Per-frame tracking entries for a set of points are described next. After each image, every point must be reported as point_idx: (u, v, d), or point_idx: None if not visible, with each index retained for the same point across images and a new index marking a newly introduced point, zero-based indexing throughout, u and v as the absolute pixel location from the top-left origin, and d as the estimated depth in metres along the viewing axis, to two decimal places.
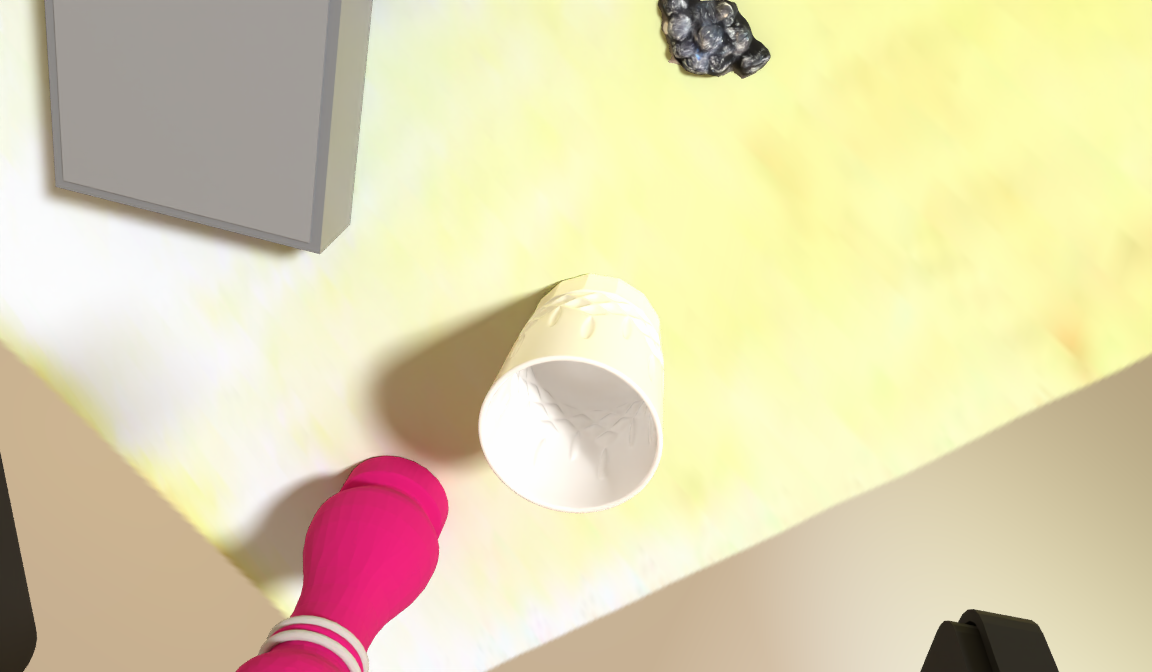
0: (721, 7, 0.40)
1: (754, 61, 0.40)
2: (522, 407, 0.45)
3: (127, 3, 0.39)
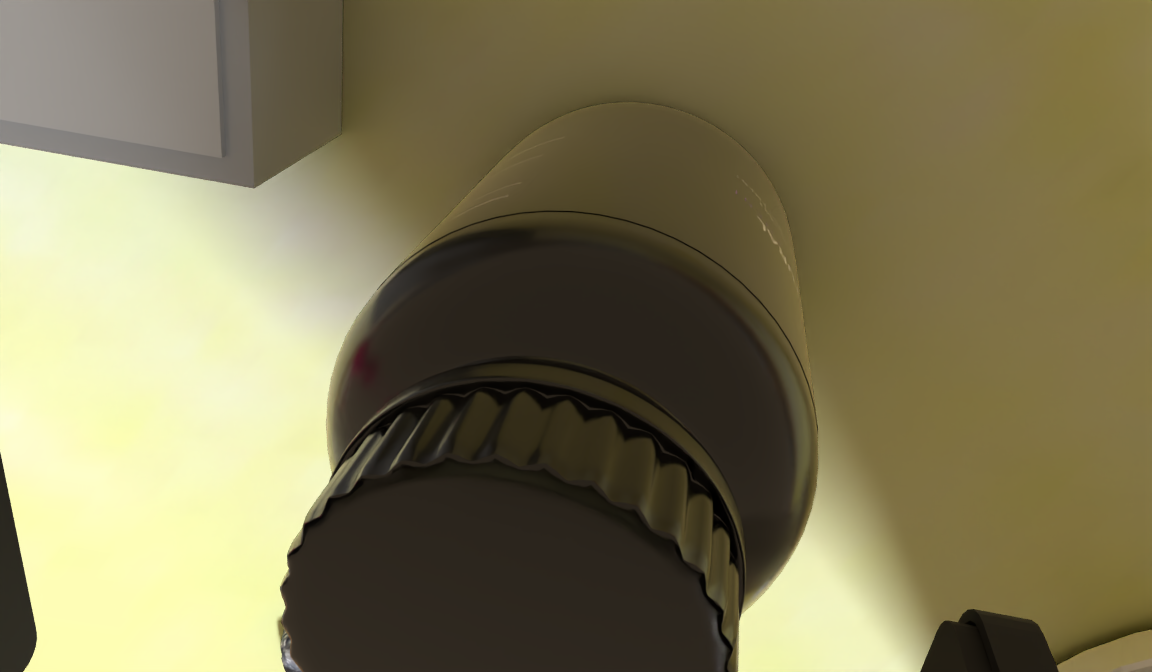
0: None
1: None
2: None
3: None
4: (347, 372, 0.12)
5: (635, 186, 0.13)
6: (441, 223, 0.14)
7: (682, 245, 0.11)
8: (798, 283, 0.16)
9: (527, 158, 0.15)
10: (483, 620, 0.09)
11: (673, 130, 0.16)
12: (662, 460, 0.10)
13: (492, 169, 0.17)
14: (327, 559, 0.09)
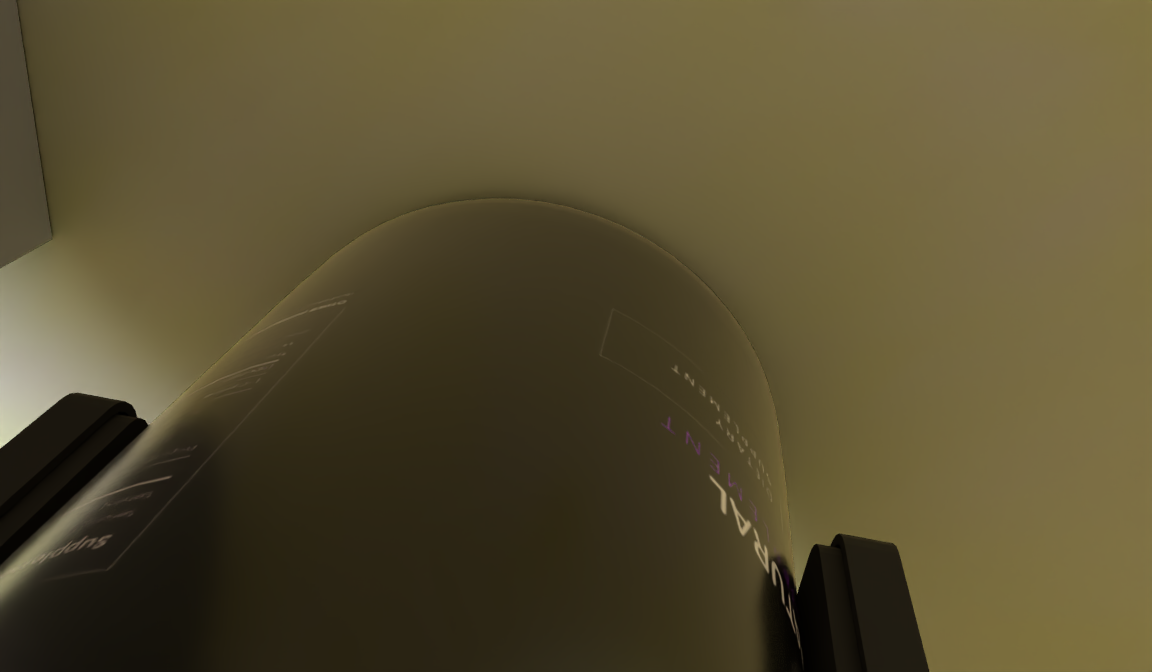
0: None
1: None
2: None
3: None
4: None
5: (414, 504, 0.06)
6: (15, 552, 0.06)
7: None
8: (791, 560, 0.09)
9: (254, 361, 0.08)
10: None
11: (560, 273, 0.09)
12: None
13: (237, 342, 0.09)
14: None
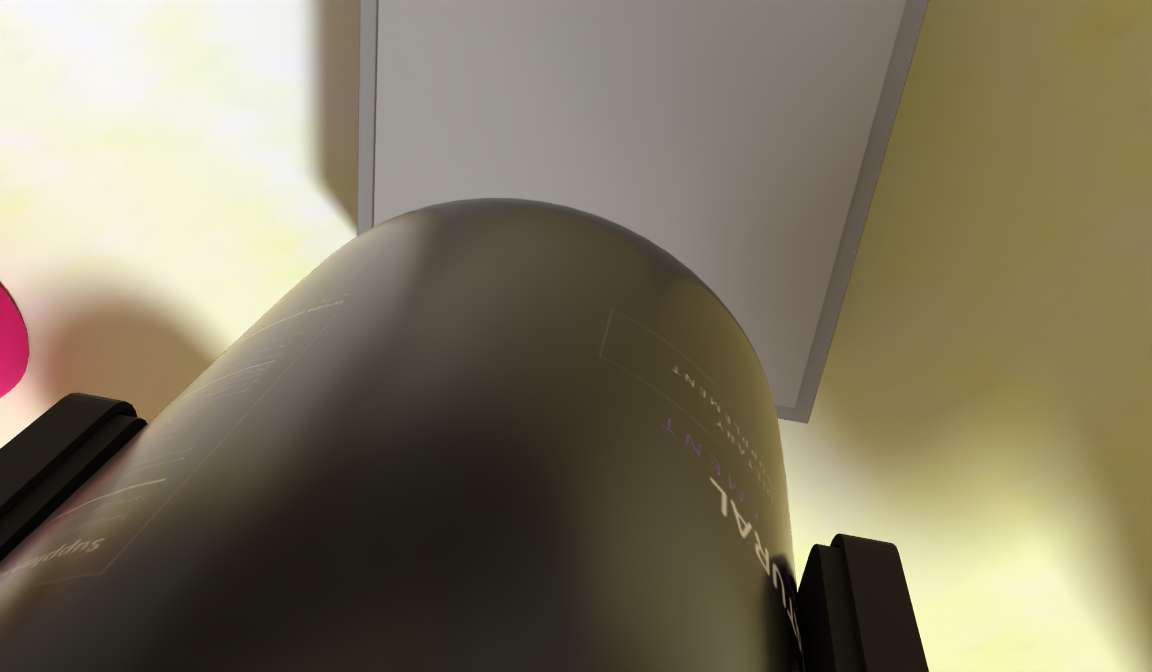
0: None
1: None
2: None
3: (745, 72, 0.22)
4: None
5: (410, 507, 0.05)
6: (8, 555, 0.06)
7: None
8: (792, 562, 0.09)
9: (251, 362, 0.07)
10: None
11: (560, 273, 0.09)
12: None
13: None
14: None
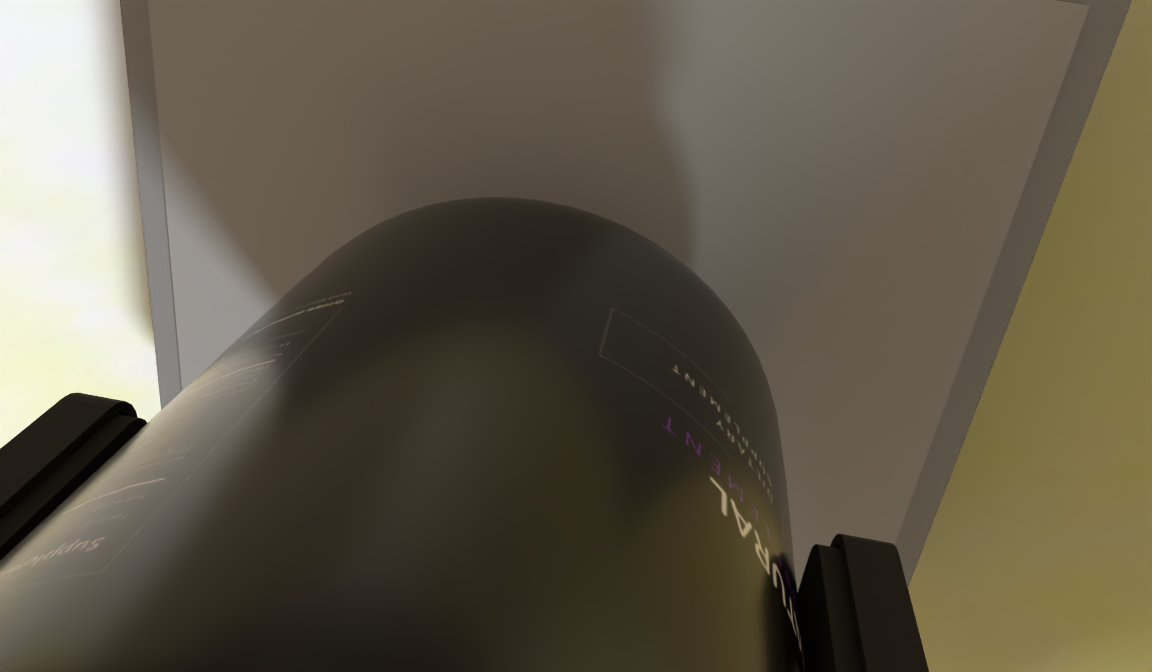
0: None
1: None
2: None
3: (768, 223, 0.13)
4: None
5: (410, 506, 0.05)
6: (8, 554, 0.06)
7: None
8: (791, 562, 0.09)
9: (250, 362, 0.07)
10: None
11: (559, 273, 0.09)
12: None
13: (234, 342, 0.09)
14: None
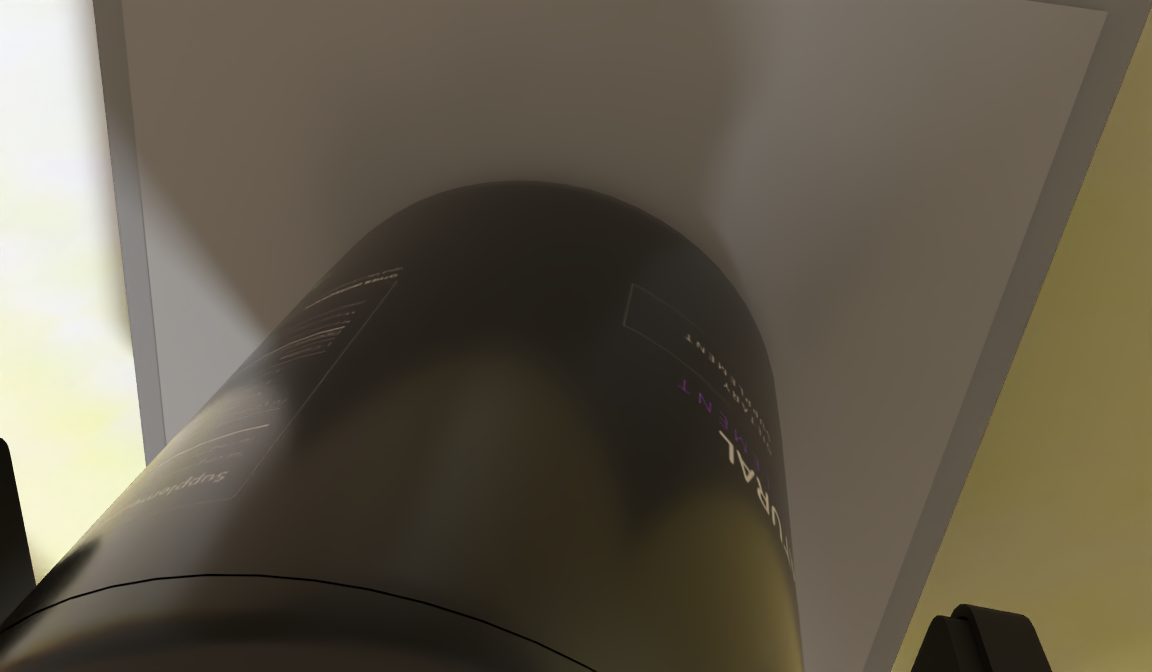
0: None
1: None
2: None
3: (770, 238, 0.12)
4: None
5: (479, 448, 0.07)
6: (131, 488, 0.07)
7: (551, 665, 0.05)
8: (787, 507, 0.10)
9: (322, 328, 0.09)
10: None
11: (585, 252, 0.10)
12: None
13: (294, 310, 0.10)
14: None
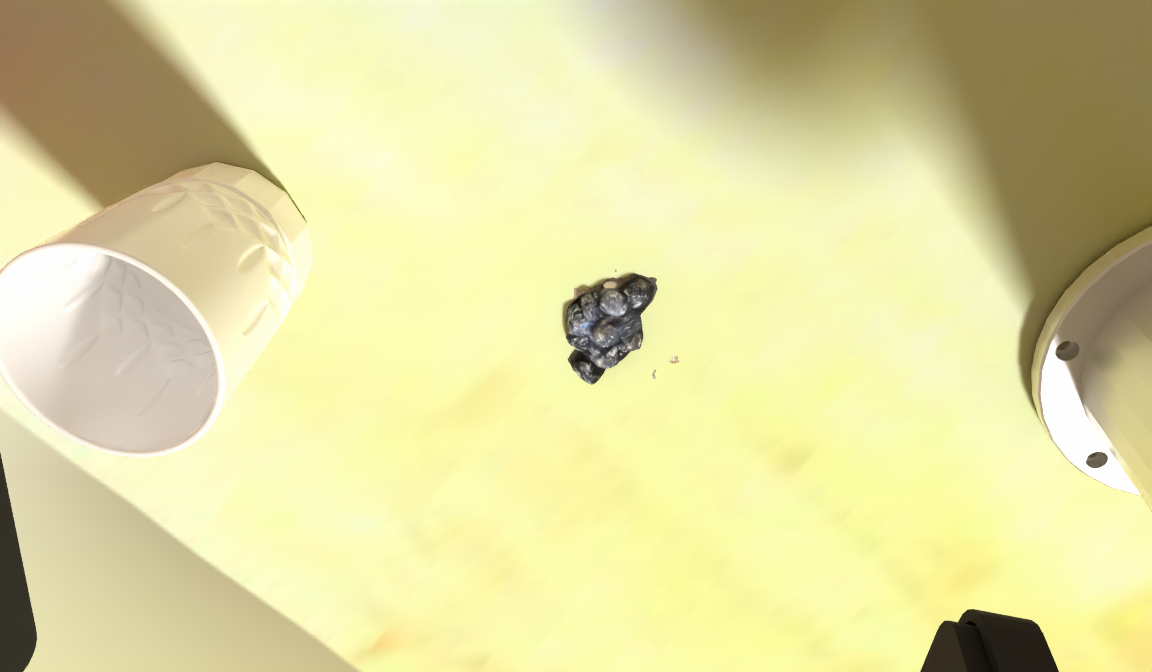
0: (636, 341, 0.38)
1: (586, 375, 0.39)
2: None
3: None
4: None
5: None
6: None
7: None
8: None
9: None
10: None
11: None
12: None
13: None
14: None
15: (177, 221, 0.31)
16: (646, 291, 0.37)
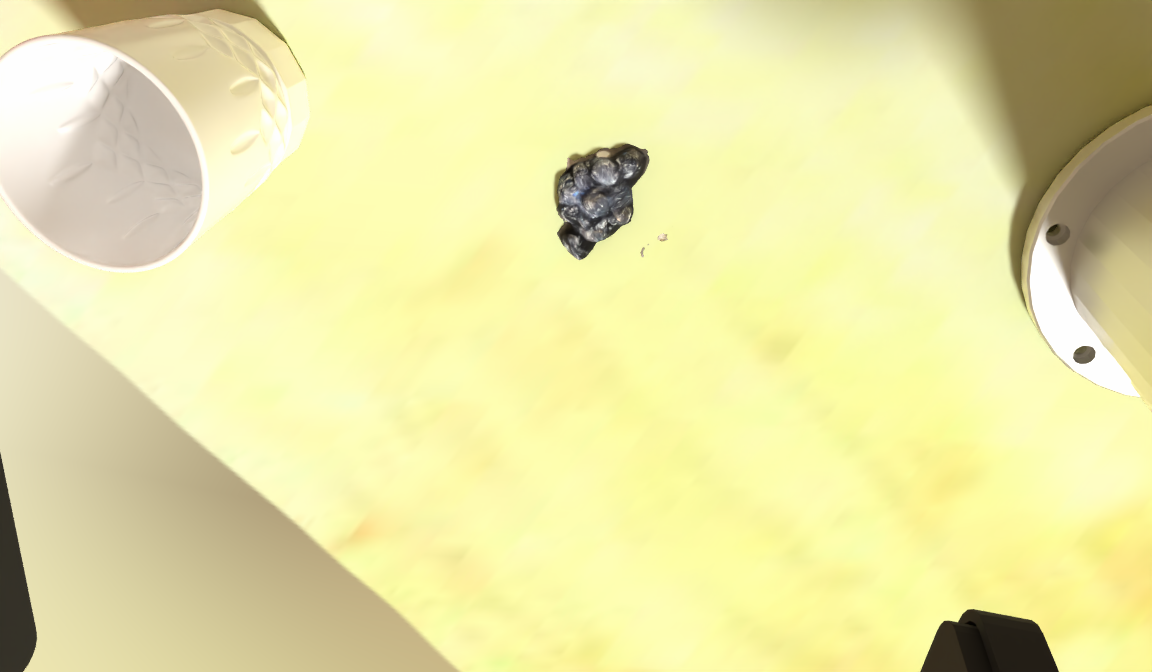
0: (626, 213, 0.38)
1: (574, 248, 0.39)
2: None
3: None
4: None
5: None
6: None
7: None
8: None
9: None
10: None
11: None
12: None
13: None
14: None
15: (172, 37, 0.31)
16: (639, 160, 0.38)
